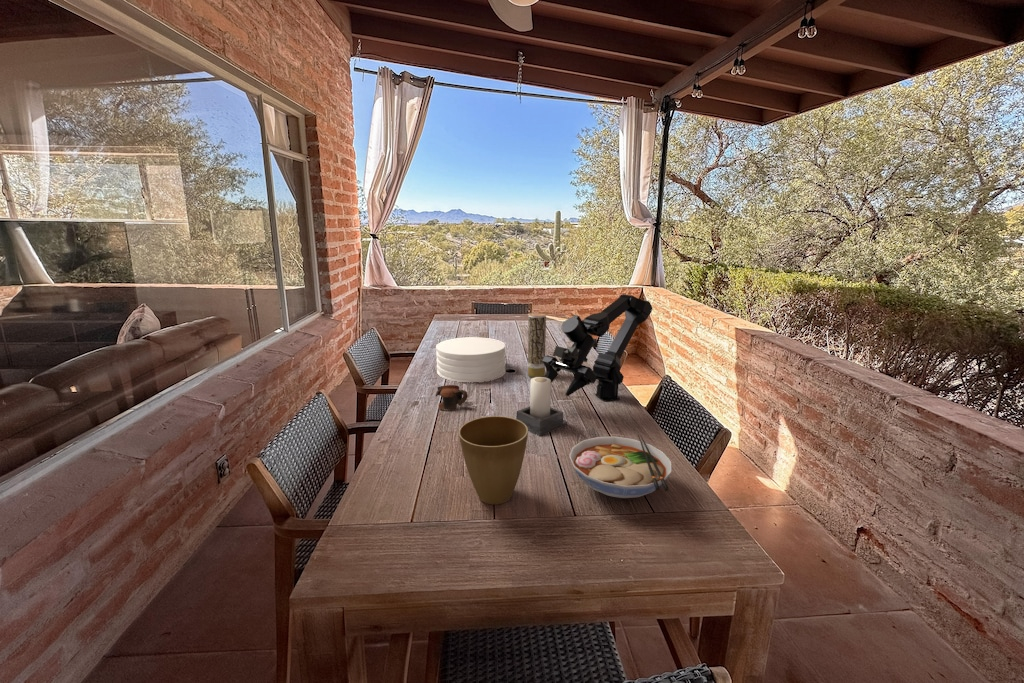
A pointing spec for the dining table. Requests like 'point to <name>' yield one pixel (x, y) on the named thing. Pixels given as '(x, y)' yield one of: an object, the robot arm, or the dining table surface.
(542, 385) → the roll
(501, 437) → the plant pot
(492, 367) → the plate stack
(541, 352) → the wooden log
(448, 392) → the pottery mug
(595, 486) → the ramen bowl
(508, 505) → the dining table surface
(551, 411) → the holder
